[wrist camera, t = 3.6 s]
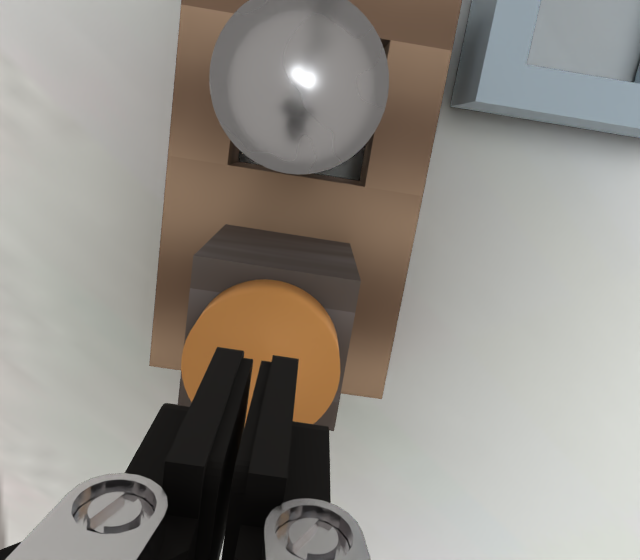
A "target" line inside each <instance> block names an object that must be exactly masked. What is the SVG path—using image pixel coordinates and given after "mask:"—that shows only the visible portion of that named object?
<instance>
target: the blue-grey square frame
mask: <svg viewBox="0 0 640 560" xmlns="http://www.w3.org/2000/svg"><path fill="white" fill-rule="evenodd" d="M540 4H541V0H472V3H471V8H470V13H469V18H468V23H467V28H466V32H465V37H464V42H463V47H462V52H461V57H460V62H459V66H458V71H457V76H456V81H455V86H454V91H453V96H452V100H451V105H450V107H456V108H462V109H468V110H474V111H480V112H486V113H492V114H498V115H504V116H510V117H516V118H522V119H528V120H534V121H540V122H546V123H552V124H558V125H564V126H570V127H576V128H582V129H588V130H594V131H600V132H606V133H612V134H618V135H624V136H630V137H636V138H640V63H639V66H638V70H637V73H636V77H635V80H634V83H633V82H627V81H622V80H616V79H610V78H604V77H598V76H592V75H586V74H581V73H575V72H569V71H563V70H557V69H551V68H545V67H539V66H534V65H528V64H526V63H527V59H528V55H529V51H530V46H531V42H532V38H533V33H534V29H535V25H536V21H537V16H538V12H539V8H540Z"/></svg>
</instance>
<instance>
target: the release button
mask: <svg viewBox="0 0 640 560" xmlns="http://www.w3.org/2000/svg"><path fill="white" fill-rule="evenodd" d="M217 347H222V348H228V349H235V350H242V351H244V358H248V359H253V367H252V375H251V382H250V389H249V397H248V404H247V412H246V419H247V415H248V411H249V408H250V404H251V400H252V396H253V392H254V388H255V384H256V380H257V376H258V372H259V368H260V364H261V360H262V361H269V362H272V357H273V355H276V356H283V357H290V358H297V359H299V363H298V373H297V383H296V393H295V403H294V413H293V421H294V422H301V423H308V424H314V423H315V422H316V421H317V420H318V419H319V418H320V417H322V416H323V414H324V413H325V412H326V410H327V409H328V408H329V406H330V404H331V403H332V401H333V399H334V397H335V394H336V392H337V389H338V385H339V380H340V356H339V345H338V338H337V333H336V330H335V327H334V324H333V322H332V320H331V318H330V316H329V315H328V313H327V312H326V310H325V309H324V307H323V306H322V305H321V304H320V303H319V302H318V301H317V300H316V299H315V298H314V297H313V296H311V295H310V294H308V293H307V292H306V291H304V290H302V289H300V288H298V287H296V286H294V285H291V284H289V283H286V282H281V281H277V280H267V279H263V280H252V281H246V282H243V283H240V284H237V285H234V286H232V287H230V288H228V289H226V290H225V291H223V292H222V293H220V294H219V295H218V296H216V297H215V298H214V299H213V300H212V301H211V302H210V303H209V304H208V305H207V307H206V308H205V310H204V311H203V312H202V314H201V315H200V317H199V319H198V320H197V322H196V323H195V325H194V326H193V328H192V329H191V331H190V333H189V335H188V337H187V339H186V342H185V345H184V348H183V353H182V358H181V371H182V379H183V383H184V387H185V389H186V392H187V394H188V397H189V398H190V400H191V402H192V401H193V399H194V396H195V394H196V392H197V390H198V388H199V385H200V383H201V381H202V379H203V377H204V375H205V372H206V370H207V368H208V366H209V364H210V361H211V359H212V357H213V355H214V353H215V351H216V348H217ZM246 419H245V423H246Z"/></svg>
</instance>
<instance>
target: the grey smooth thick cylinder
mask: <svg viewBox="0 0 640 560" xmlns="http://www.w3.org/2000/svg"><path fill="white" fill-rule="evenodd" d="M209 85H210V95H211V99H212V104H213V107H214V110H215V113H216V116H217V118H218V121H219V123H220V125H221V127H222V128H223V130H224V132H225V133H226V135H227V136H228V138H229V139H230V140H231V141H232V142H233V144H234V145H235V146H236V147H237V148H238V149H239V150H240V151H241V152H242V153H243V154H245V155H246V156H247V157H249V158H250V159H252V160H253V161H254V162H256V163H258V164H260V165H262V166H264V167H266V168H269V169H271V170H274V171H278V172H282V173H287V174H297V175H299V174H313V173H318V172H322V171H325V170H329V169H332V168H334V167H336V166H338V165H340V164H342V163H344V162H345V161H347V160H348V159H350V158H351V157H353V156H354V155H355V154H356V153H357V152H358V151H360V150H361V149H362V147H363V146H364V145H365V144H366V143H367V142H368V141H369V139H370V138H371V136H372V135H373V134H374V132H375V130H376V129H377V127H378V125H379V123H380V121H381V118H382V116H383V113H384V110H385V107H386V103H387V98H388V90H389V70H388V63H387V58H386V54H385V50H384V47H383V45H382V42H381V40H380V38H379V36H378V34H377V32H376V30H375V29H374V27H373V25H372V24H371V23H370V21H369V20H368V19H367V17H366V16H365V15H364V14H363V13H362V12H361V11H360V10H359V9H358V8H357V7H356V6H355V5H353V4H352V3H351V2H350V1H348V0H249V1H247V2H246V3H244V4H243V5H242V6H241V7H240V8H239V9H238V10H237V11H236V12H235V13H234V14H233V15H232V16H231V18H230V19H229V20H228V21H227V23H226V24H225V26H224V28H223V29H222V31H221V33H220V35H219V37H218V39H217V41H216V44H215V47H214V50H213V53H212V57H211V63H210V72H209Z"/></svg>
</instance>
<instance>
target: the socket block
mask: <svg viewBox="0 0 640 560" xmlns="http://www.w3.org/2000/svg"><path fill="white" fill-rule="evenodd" d="M247 1H249V0H182V1H181V12H180V24H179V35H178V47H177V58H176V69H175V81H174V92H173V103H172V115H171V126H170V137H169V149H168V160H167V171H166V183H165V194H164V206H163V217H162V228H161V240H160V251H159V262H158V274H157V285H156V296H155V308H154V319H153V331H152V342H151V353H150V365H149V366H154V367H161V368H168V369H175V370H181V358H182V353H183V348H184V345H185V342H186V339H187V337H188V335H189V333H190V331H191V329H192V328H193V326H194V325H195V323H196V322H197V320H198V319H199V317H200V315H201V314H202V312H203V311H204V310H205V308H206V307H207V305H208V304H209V303H210V302H211V301H212V300H213V299H214V298H215V297H216V296H218V295H219V294H220V293H222V292H223V291H225V290H226V289H228V288H230V287H232V286H234V285H237V284H240V283H243V282H246V281H252V280H263V279H267V280H277V281H281V282H286V283H289V284H291V285H294V286H296V287H298V288H300V289H302V290H304V291H306V292H307V293H308V294H310V295H311V296H313V297H314V298H315V299H316V300H317V301H318V302H319V303H320V304H321V305H322V306H323V307H324V309H325V310H326V312H327V313H328V315H329V316H330V318H331V320H332V322H333V324H334V327H335V330H336V333H337V338H338V345H339V356H340V380H339V385H338V389H337V392H336V394H335V397H334V399H333V401H332V403H331V404H330V406H329V408H328V409H327V410H326V412H325V413H324V414H323V416H322V417H320V418H319V419H318V420H317V421H316V422H315V423H314V424H315V425H322V426H328V427H329V430H331V431H334V427H335V422H336V416H337V411H338V405H339V400H340V394H341V393H343V394H350V395H357V396H364V397H371V398H378V399H382V395H383V390H384V385H385V380H386V375H387V370H388V365H389V360H390V355H391V351H392V346H393V341H394V336H395V331H396V326H397V321H398V316H399V311H400V306H401V301H402V296H403V291H404V286H405V281H406V276H407V271H408V266H409V261H410V256H411V251H412V246H413V241H414V236H415V232H416V227H417V222H418V217H419V212H420V207H421V202H422V197H423V192H424V187H425V182H426V177H427V172H428V167H429V162H430V157H431V152H432V147H433V142H434V137H435V132H436V127H437V122H438V117H439V112H440V108H441V103H442V98H443V93H444V88H445V83H446V78H447V73H448V68H449V63H450V58H451V53H452V48H453V43H454V38H455V33H456V28H457V23H458V18H459V13H460V8H461V3H462V0H348V1H350V2H351V3H352V4H353V5H355V6H356V7H357V8H358V9H359V10H360V11H361V12H362V13H363V14H364V15H365V16H366V17H367V19H368V20H369V21H370V23H371V24H372V25H373V27H374V29H375V30H376V32H377V34H378V36H379V38H380V40H381V42H382V45H383V47H384V50H385V54H386V58H387V63H388V70H389V90H388V98H387V103H386V107H385V110H384V113H383V116H382V118H381V121H380V123H379V125H378V127H377V129H376V130H375V132H374V134H373V135H372V136H371V138H370V139H369V141H368V142H367V143H366V146H365V152H364V157H363V163H362V169H361V175H360V181H357V180H351V179H345V178H339V177H332V176H326V175H320V174H314V173H313V174H299V175H297V174H287V173H282V172H278V171H274V170H271V169H269V168H266V167H264V166H262V165H257V164H251V163H245V162H238V158H239V149H238V148H237V147H236V146H235V145H234V144H233V142H232V141H231V140H230V139H229V138H228V136H227V135H226V133H225V132H224V130H223V128H222V127H221V125H220V123H219V121H218V118H217V116H216V113H215V110H214V107H213V104H212V99H211V95H210V85H209V72H210V63H211V57H212V53H213V50H214V47H215V44H216V41H217V39H218V37H219V35H220V33H221V31H222V29H223V28H224V26H225V24H226V23H227V21H228V20H229V19H230V18H231V16H232V15H233V14H234V13H235V12H236V11H237V10H238V9H239V8H240V7H241V6H242V5H243V4H244V3H246V2H247ZM191 403H192V402H191V400H190V398H189V397H188V394H187V392H186V389H185V387H184V383H183V379H182V371H181V379H180V389H179V398H178V405H182V406H189V407H190V405H191Z"/></svg>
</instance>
